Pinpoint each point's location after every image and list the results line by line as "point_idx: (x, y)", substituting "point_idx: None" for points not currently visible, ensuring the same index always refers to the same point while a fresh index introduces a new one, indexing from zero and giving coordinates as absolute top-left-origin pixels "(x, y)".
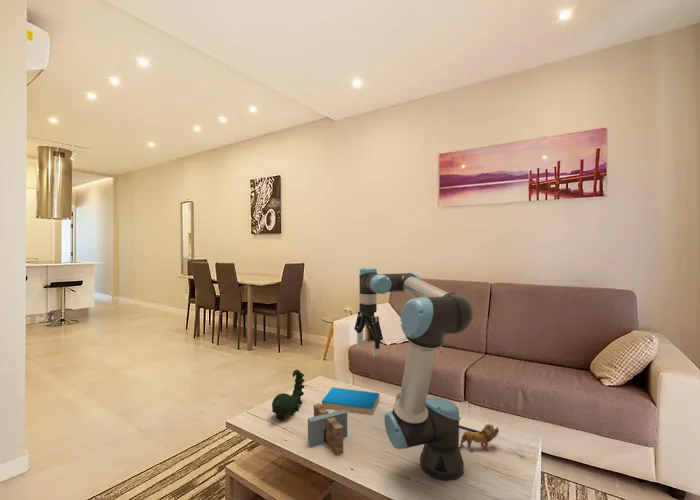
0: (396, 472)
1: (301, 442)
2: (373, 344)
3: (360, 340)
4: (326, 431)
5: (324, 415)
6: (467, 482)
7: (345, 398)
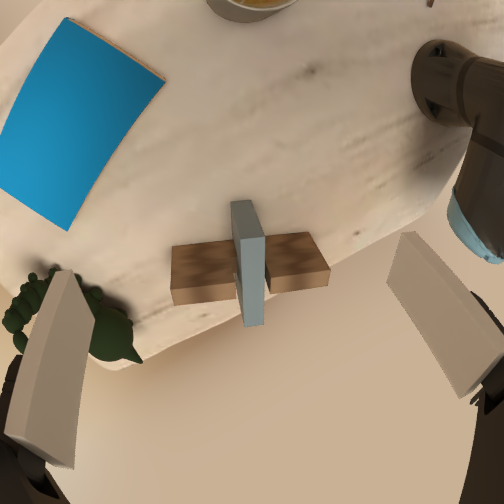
0: (411, 166)
1: None
2: (449, 364)
3: (68, 362)
4: None
5: (249, 295)
6: None
7: (62, 153)
